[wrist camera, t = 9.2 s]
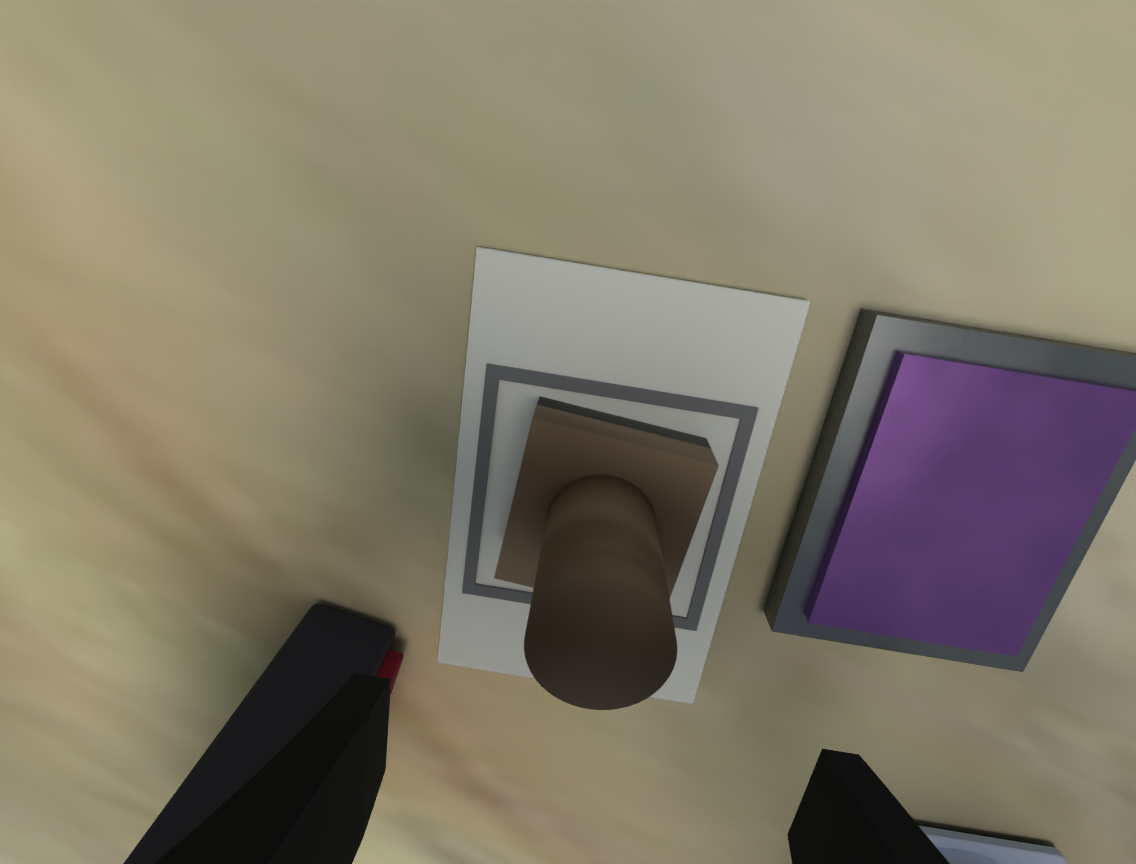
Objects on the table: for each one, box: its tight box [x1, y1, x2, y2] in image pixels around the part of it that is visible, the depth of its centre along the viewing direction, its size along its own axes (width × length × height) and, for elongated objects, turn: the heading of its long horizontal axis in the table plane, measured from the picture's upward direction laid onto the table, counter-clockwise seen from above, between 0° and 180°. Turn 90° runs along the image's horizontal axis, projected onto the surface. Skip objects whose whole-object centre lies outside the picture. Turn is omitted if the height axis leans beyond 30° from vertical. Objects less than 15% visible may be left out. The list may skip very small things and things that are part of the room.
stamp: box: [494, 396, 719, 710], centre depth 15 cm, size 5×5×7 cm
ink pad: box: [764, 309, 1136, 672], centre depth 17 cm, size 10×8×1 cm
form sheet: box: [437, 247, 810, 704], centre depth 19 cm, size 14×9×1 cm, turn 171°
